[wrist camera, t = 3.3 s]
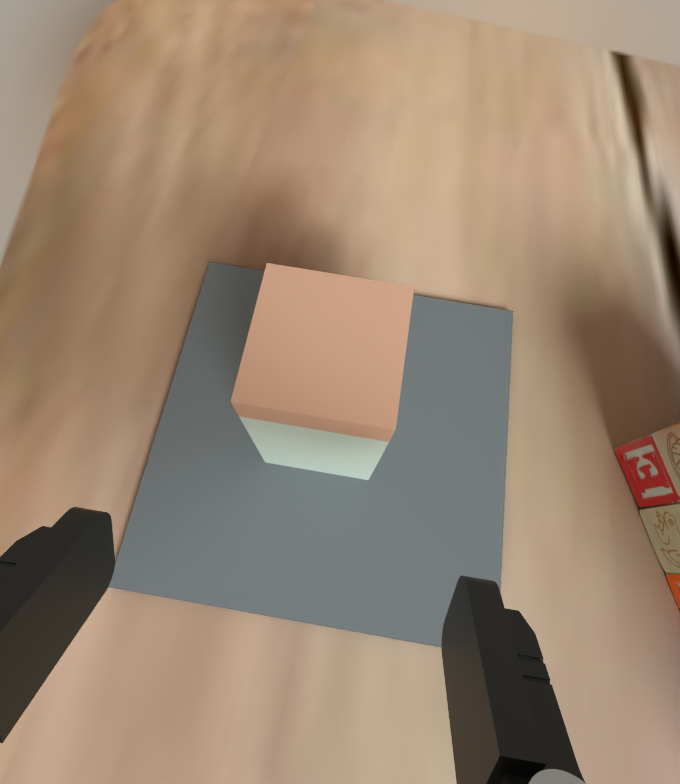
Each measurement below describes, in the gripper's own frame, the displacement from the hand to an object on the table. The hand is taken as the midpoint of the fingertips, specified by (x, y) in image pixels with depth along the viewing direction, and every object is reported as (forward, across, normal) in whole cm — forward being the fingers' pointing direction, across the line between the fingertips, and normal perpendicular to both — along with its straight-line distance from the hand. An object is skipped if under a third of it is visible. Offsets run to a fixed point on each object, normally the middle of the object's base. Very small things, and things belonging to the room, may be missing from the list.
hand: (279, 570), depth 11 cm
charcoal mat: (+12, 0, +4) cm, 13 cm away
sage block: (+12, 0, +3) cm, 13 cm away
